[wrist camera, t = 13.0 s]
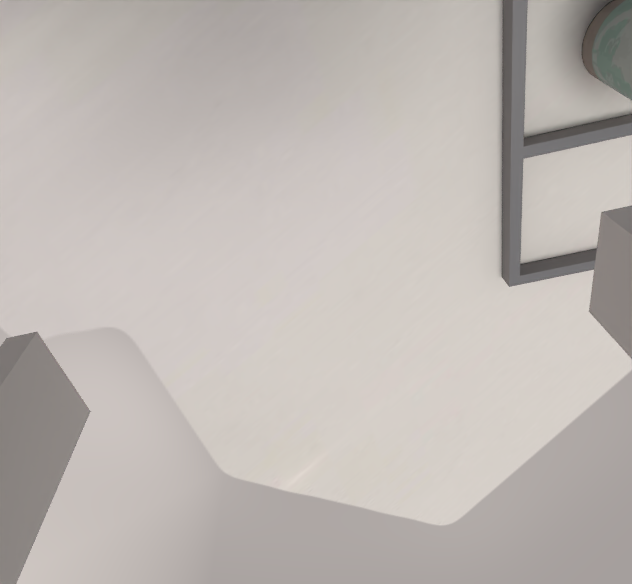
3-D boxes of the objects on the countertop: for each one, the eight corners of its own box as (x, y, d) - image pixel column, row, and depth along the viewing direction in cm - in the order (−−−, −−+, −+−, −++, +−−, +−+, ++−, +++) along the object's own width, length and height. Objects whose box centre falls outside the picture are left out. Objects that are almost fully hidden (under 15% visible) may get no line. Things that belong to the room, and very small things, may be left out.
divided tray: (503, -33, 34) (513, -33, 33) (779, -101, 33) (803, -104, 32) (502, 276, 48) (509, 286, 47) (695, 237, 47) (709, 245, 46)
